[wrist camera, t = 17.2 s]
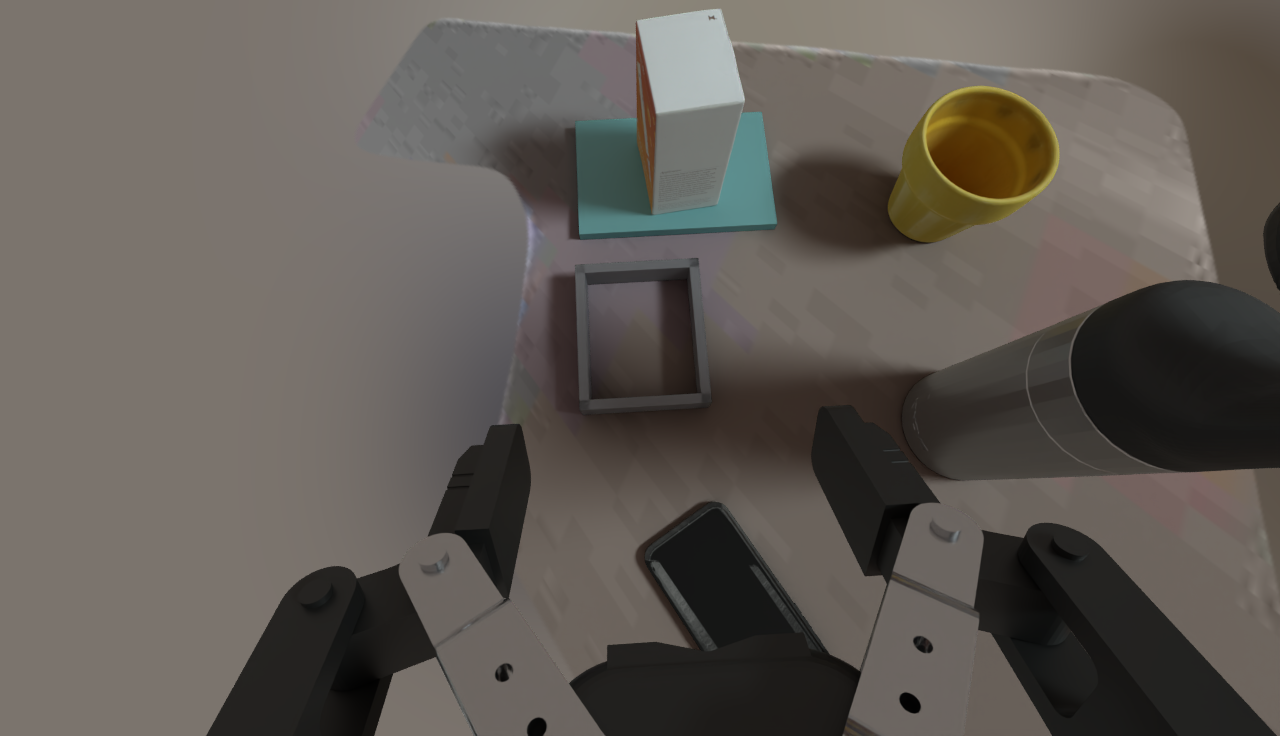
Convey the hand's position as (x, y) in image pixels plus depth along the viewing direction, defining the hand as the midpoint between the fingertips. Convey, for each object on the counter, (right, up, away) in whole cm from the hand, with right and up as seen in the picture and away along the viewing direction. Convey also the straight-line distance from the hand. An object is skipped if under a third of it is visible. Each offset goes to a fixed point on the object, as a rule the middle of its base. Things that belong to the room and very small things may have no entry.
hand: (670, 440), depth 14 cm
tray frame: (-1, +4, +31) cm, 31 cm away
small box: (+3, +20, +34) cm, 39 cm away
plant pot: (+26, +17, +34) cm, 46 cm away
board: (+2, +20, +34) cm, 40 cm away
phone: (+7, -17, +26) cm, 32 cm away
